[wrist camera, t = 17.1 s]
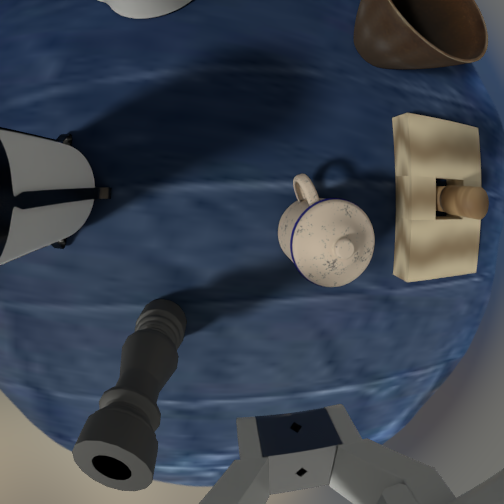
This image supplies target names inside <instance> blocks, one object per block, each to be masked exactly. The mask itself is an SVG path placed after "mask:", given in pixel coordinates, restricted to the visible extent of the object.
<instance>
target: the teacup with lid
mask: <svg viewBox="0 0 504 504" xmlns="http://www.w3.org/2000/svg"><path fill="white" fill-rule="evenodd" d="M293 186H294V190H295V193H296V196H297V199H298V201H296V202H294V203H293V204H292V205H290V206H289V207H288V208H287V209H286V211H285V212H284V214H283V215H282V217H281V219H280V222H279V227H278V239H279V243H280V246H281V248H282V250H283V251H284V253H285V254H286V255H287V256H288V258H289V259H290V260H291V261H292V262H293V263H294V265H295V267H296V268H297V270H298V271H299V273H300V274H301V275H302V276H303V277H304V278H305V279H307V280H308V281H310V282H311V283H313V284H316V285H319V286H323V287H337V286H342V285H345V284H347V283H349V282H351V281H353V280H354V279H356V278H357V277H358V276H359V275H360V274H361V273H362V272H363V271H364V270H365V269H366V267H367V266H368V264H369V262H370V260H371V258H372V255H373V251H374V244H375V237H374V230H373V227H372V224H371V222H370V220H369V218H368V216H367V215H366V214H365V212H364V211H363V210H362V209H361V208H360V207H359V206H357V205H356V204H355V203H353V202H351V201H348V200H345V199H341V198H328V199H324V198H319V196H318V194H317V191H316V189H315V187H314V185H313V183H312V181H311V180H310V178H309V177H308V176H307V175H305V174H299V175H297V176H295V177H294V180H293Z"/></svg>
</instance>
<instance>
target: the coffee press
mask: <svg viewBox="0 0 504 504" xmlns="http://www.w3.org/2000/svg"><path fill="white" fill-rule="evenodd" d="M62 141H63V144H62V143H58V142H62ZM71 143H72V135H71V134H61V135H60V136H59V137H58V138H57V139H56V140H55V139H50V138H46V137H42V136H38V135H33V134H29V133H25V132H20V131H16V130H11V129H7V128H2V127H0V265H3V264H5V263H7V262H9V261H12V260H14V259H16V258H19V257H21V256H24V255H26V254H28V253H31V252H33V251H36V250H38V249H41V248H43V247H46V246H48V245H52V246H53V247H54V248H60V249H64V248H65V245H66V239H65V238H67V237H69V236H71V235H72V234H74V233H75V232H77V231H78V230H79V229H80V228H81V227H82V225H83V224H84V223H85V221H86V220H87V218H88V216H89V214H90V212H91V209H92V206H93V202H94V199H111V189H112V188H107V187H95V182H94V176H93V172H92V169H91V167H90V165H89V163H88V161H87V160H86V158H85V157H84V156H83V155H82V154H81V153H80V152H79V151H78V150H77V149H75V148H73V147H71V146H70V145H71ZM57 241H58V242H57Z"/></svg>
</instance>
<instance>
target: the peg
mask: <svg viewBox="0 0 504 504" xmlns="http://www.w3.org/2000/svg"><path fill="white" fill-rule="evenodd" d="M488 205H489V201H488V196H487V193H486V191H485V190H484V189H483V188H481V187H473V186H457V185H449V186H436V211H442V212H446V213H448V214H451V215H456V216H462V217H467V218H472V219H477V220H480V219H482V218H484V216H485V215H486V213H487V211H488Z"/></svg>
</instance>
